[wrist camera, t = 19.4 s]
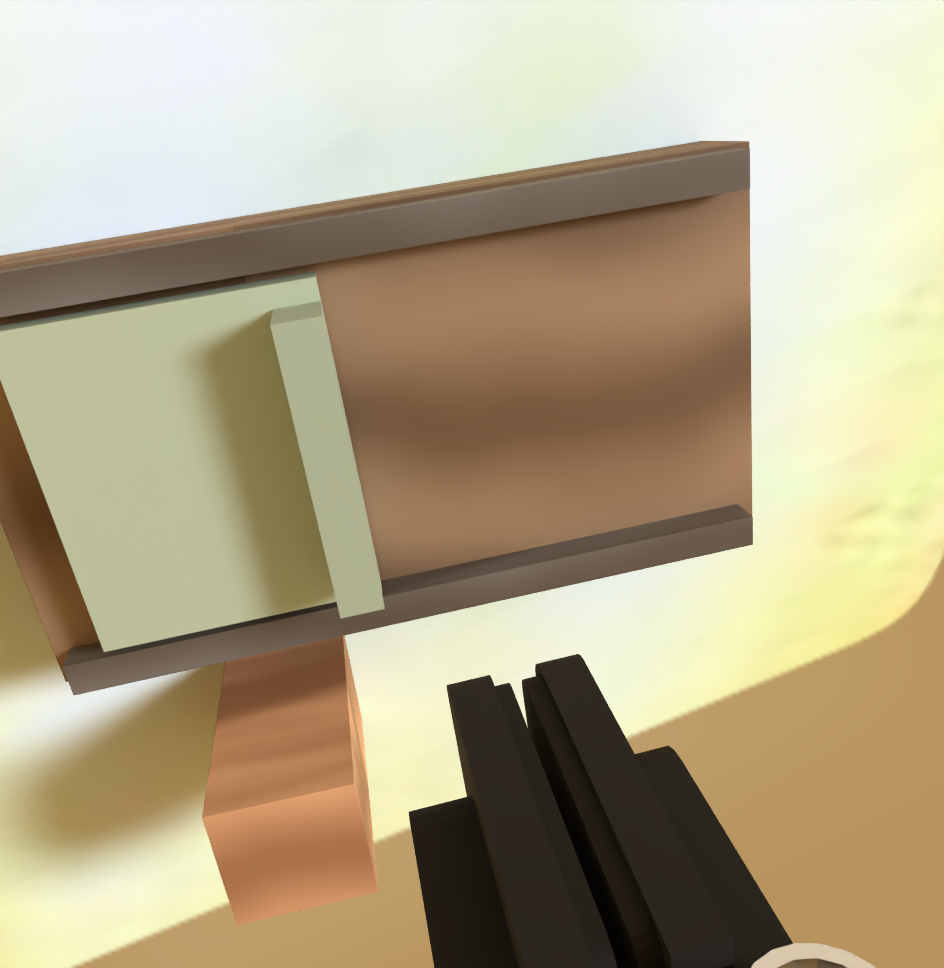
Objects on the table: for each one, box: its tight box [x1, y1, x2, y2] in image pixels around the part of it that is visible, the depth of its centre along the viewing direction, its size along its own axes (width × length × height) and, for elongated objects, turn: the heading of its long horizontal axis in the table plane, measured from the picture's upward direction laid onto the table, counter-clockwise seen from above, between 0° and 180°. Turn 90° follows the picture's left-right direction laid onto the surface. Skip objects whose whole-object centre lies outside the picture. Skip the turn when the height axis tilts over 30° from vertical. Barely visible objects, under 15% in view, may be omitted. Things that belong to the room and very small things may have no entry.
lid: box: [0, 271, 385, 652], centre depth 22 cm, size 9×8×3 cm
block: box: [202, 635, 378, 925], centre depth 27 cm, size 4×4×8 cm
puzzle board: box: [0, 141, 753, 695], centre depth 25 cm, size 12×22×4 cm, turn 98°
